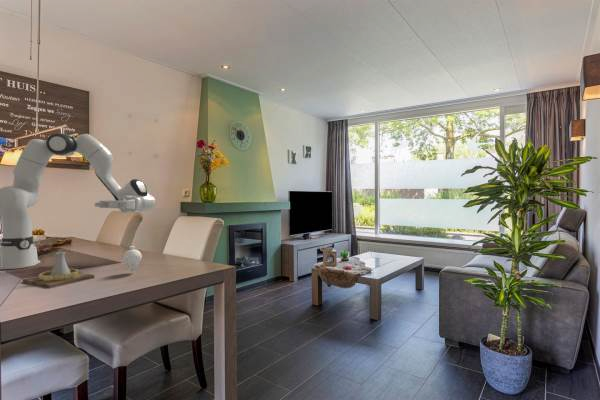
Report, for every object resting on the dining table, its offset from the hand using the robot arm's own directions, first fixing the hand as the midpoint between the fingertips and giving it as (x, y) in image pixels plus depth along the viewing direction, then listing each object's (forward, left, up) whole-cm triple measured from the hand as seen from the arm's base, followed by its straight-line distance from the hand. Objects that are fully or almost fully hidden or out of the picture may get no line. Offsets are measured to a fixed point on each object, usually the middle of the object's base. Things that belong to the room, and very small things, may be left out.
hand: (101, 204), depth 164 cm
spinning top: (+25, -3, -30) cm, 39 cm away
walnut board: (+8, -24, -30) cm, 39 cm away
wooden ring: (+8, -24, -29) cm, 38 cm away
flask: (+8, -24, -29) cm, 38 cm away
